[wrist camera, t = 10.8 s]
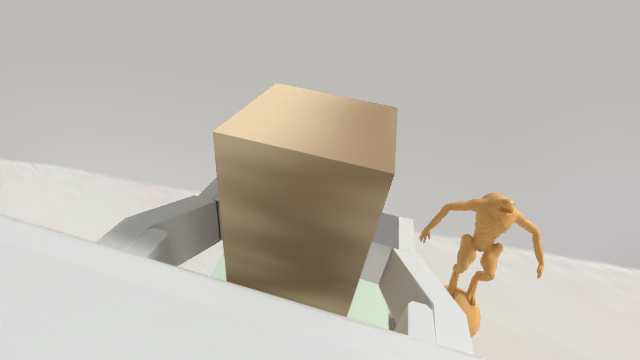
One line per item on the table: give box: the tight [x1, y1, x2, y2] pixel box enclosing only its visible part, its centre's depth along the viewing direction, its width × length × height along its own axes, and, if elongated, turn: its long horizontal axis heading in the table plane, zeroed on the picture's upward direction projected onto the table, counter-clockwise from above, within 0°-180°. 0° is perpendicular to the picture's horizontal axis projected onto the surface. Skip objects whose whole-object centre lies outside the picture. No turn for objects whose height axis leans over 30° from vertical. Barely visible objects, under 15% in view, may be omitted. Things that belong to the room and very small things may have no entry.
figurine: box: [419, 193, 544, 337], centre depth 21 cm, size 8×6×12 cm
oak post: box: [213, 83, 397, 317], centre depth 11 cm, size 4×4×10 cm
